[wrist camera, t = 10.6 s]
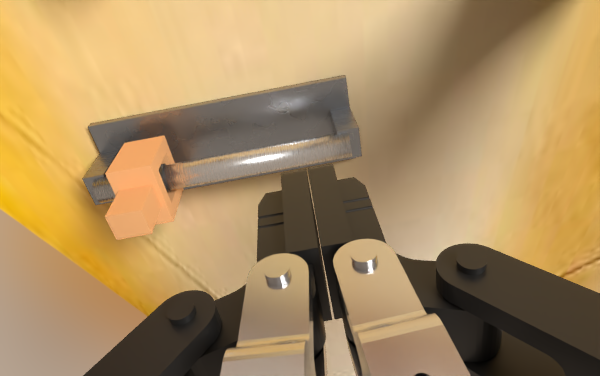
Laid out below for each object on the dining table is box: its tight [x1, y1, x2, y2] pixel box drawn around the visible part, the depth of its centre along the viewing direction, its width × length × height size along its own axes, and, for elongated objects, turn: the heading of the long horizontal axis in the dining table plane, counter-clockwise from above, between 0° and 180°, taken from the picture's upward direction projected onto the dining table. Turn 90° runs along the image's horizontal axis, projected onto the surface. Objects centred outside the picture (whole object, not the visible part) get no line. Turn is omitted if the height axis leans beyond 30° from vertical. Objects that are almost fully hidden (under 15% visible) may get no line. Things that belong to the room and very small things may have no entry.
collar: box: [105, 135, 183, 240], centre depth 40 cm, size 4×6×10 cm, turn 10°
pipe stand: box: [82, 75, 362, 205], centre depth 43 cm, size 26×9×7 cm, turn 100°
